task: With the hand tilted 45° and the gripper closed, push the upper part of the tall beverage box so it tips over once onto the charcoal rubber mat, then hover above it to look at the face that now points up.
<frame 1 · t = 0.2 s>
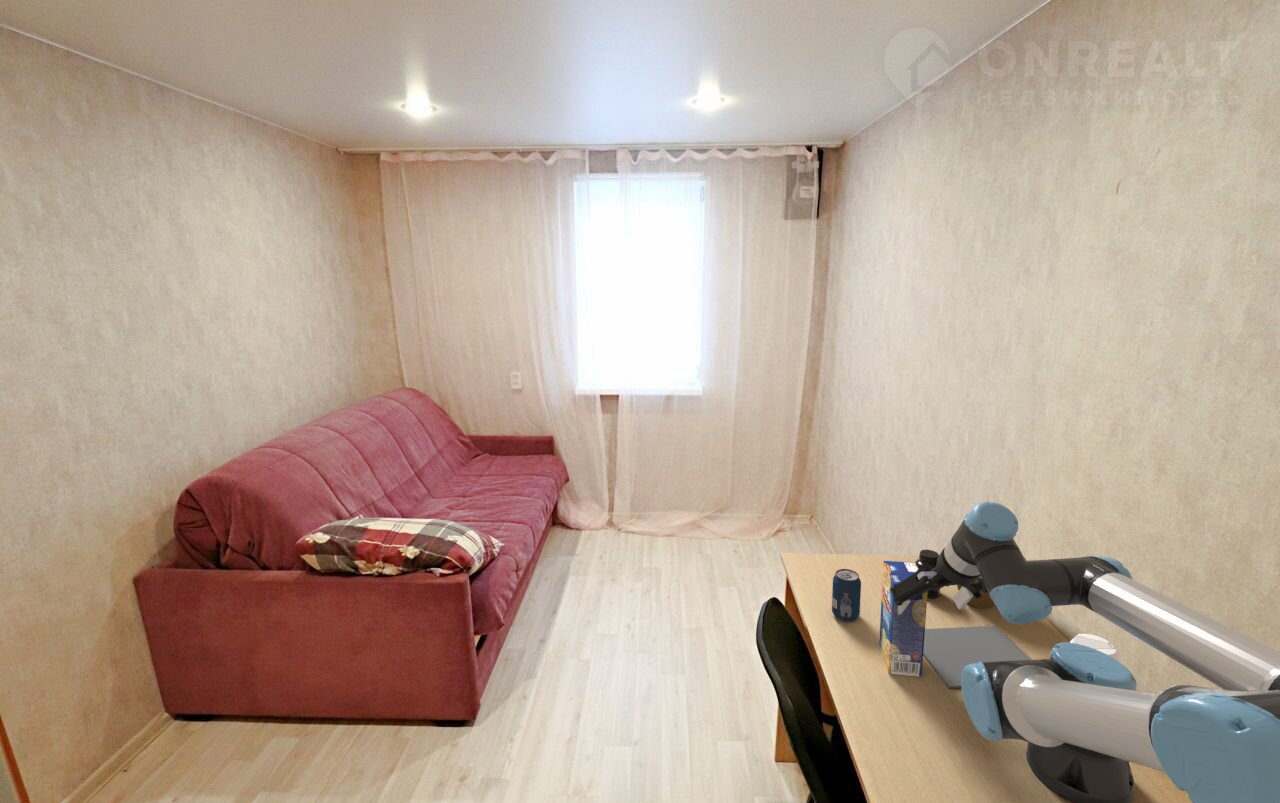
hand: (927, 606, 126), 16 cm above the table, tool tilted 35°, fingers open, 13 cm apart
soda can: (845, 616, 151), on the table
plant pot: (976, 601, 155), on the table
paper cup: (1085, 704, 118), on the table
beverage box: (899, 660, 133), on the table, touching gripper
supplement bottle: (926, 593, 160), on the table
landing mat: (974, 656, 133), on the table
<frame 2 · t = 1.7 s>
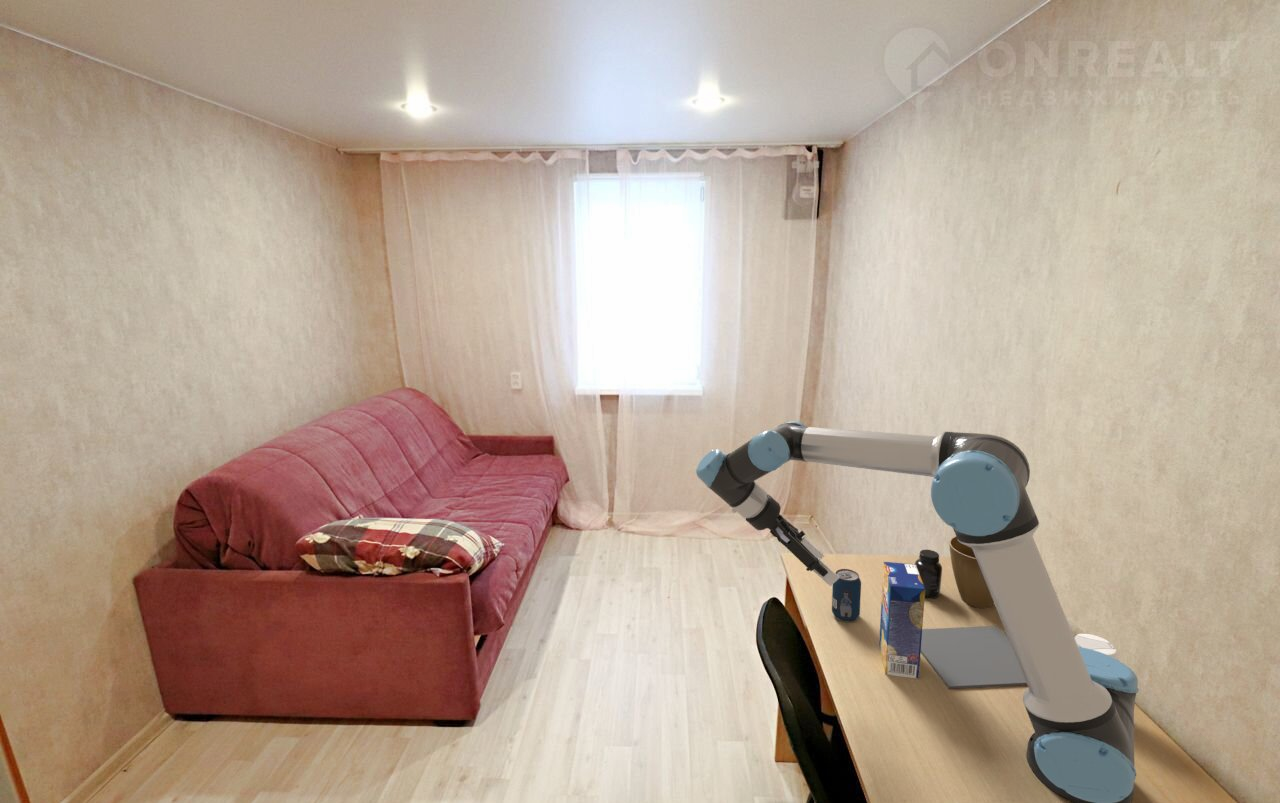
hand: (826, 569, 128), 24 cm above the table, tool tilted 45°, fingers open, 9 cm apart
beverage box: (897, 661, 133), on the table
everything else where it was.
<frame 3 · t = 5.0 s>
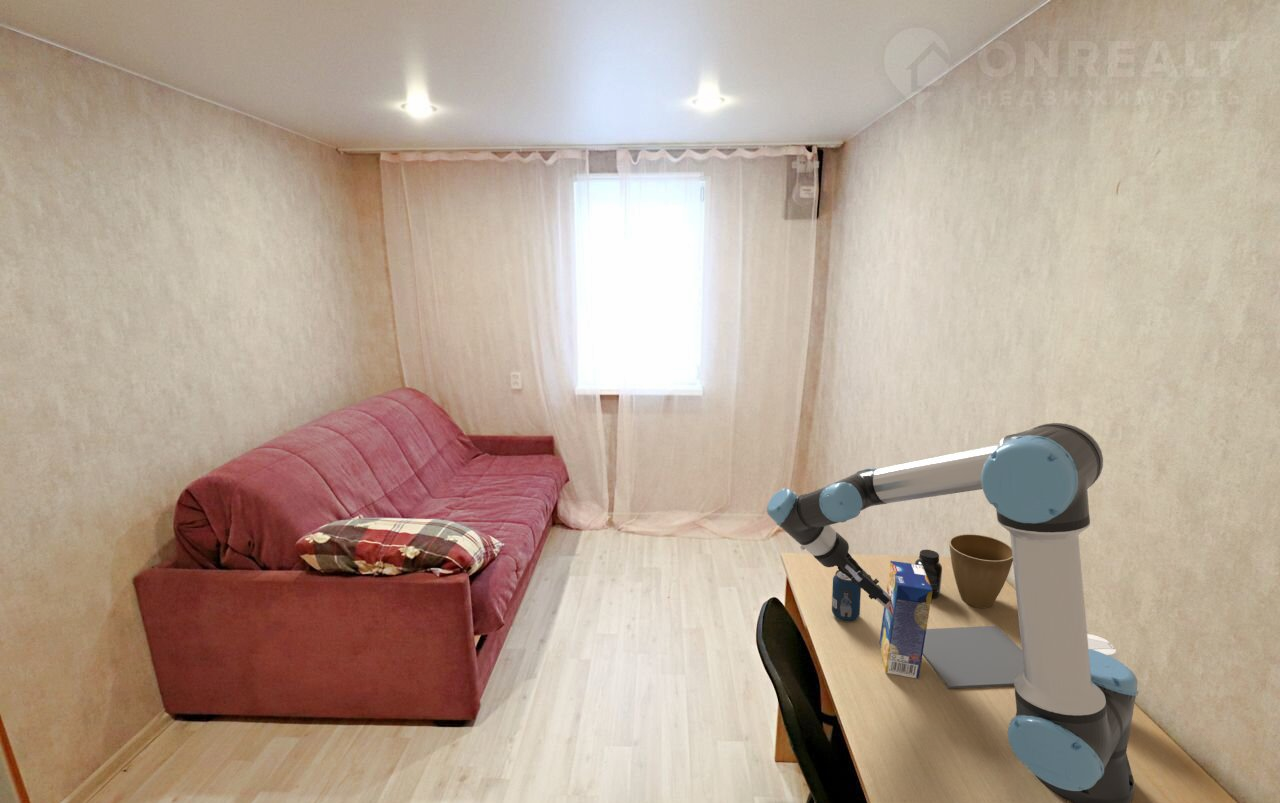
hand: (894, 607, 131), 13 cm above the table, tool tilted 45°, fingers closed
beverage box: (897, 660, 133), on the table, touching gripper
everything else where it was.
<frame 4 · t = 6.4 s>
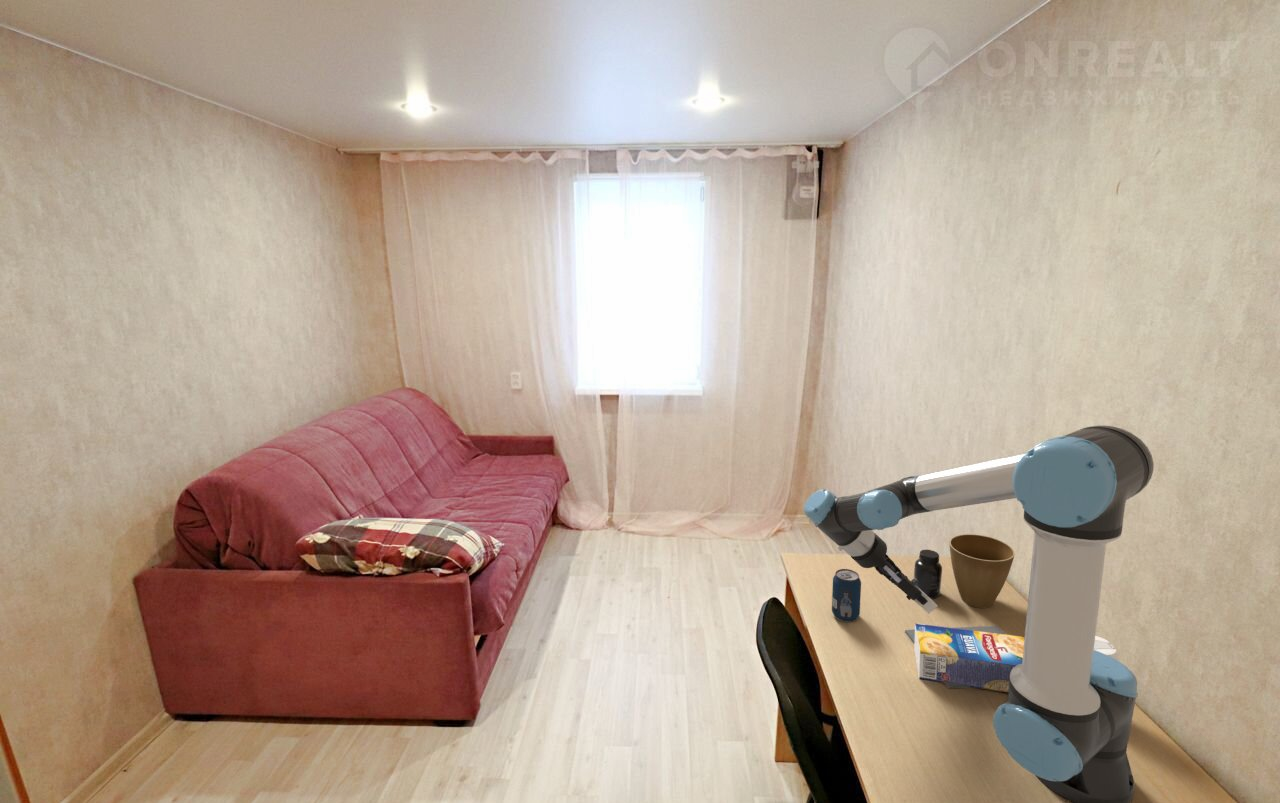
hand: (931, 608, 130), 13 cm above the table, tool tilted 45°, fingers closed
beverage box: (916, 650, 131), point 3 cm above the table, touching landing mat
everything else where it was.
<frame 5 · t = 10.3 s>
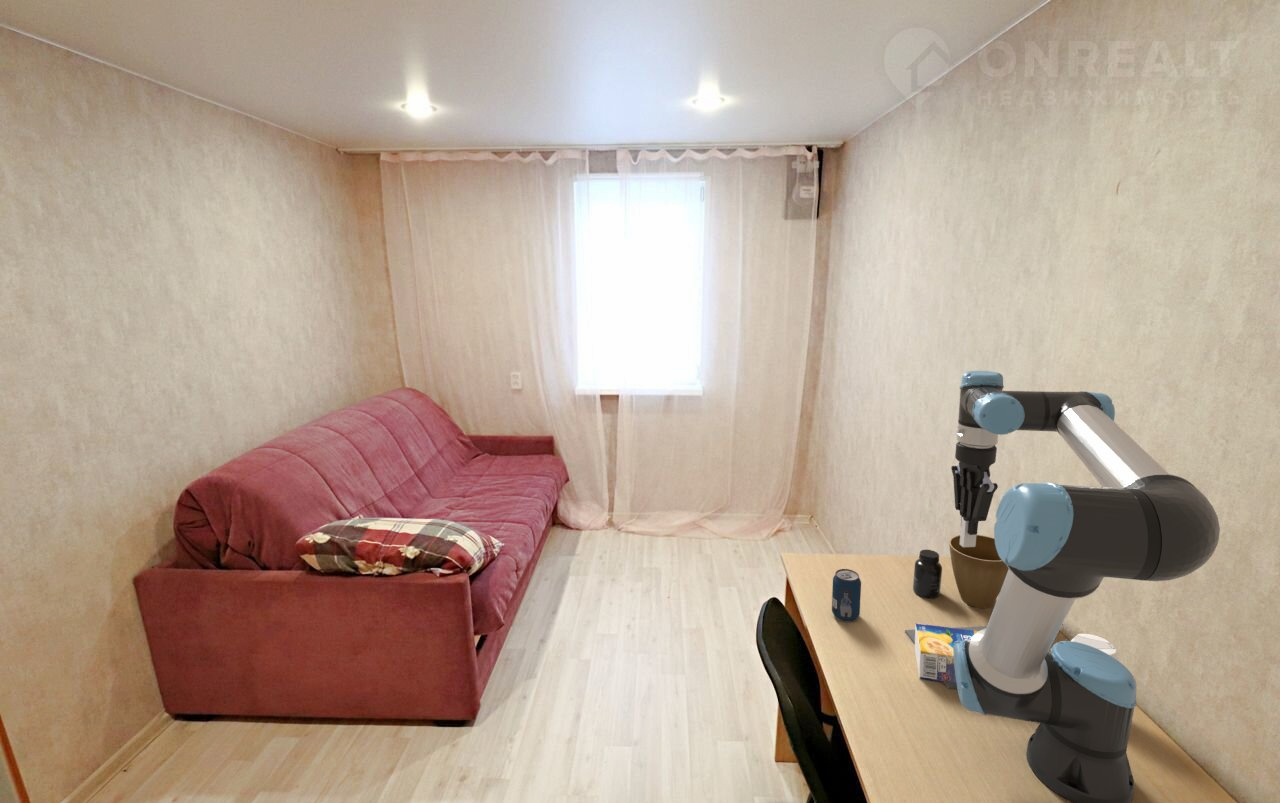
hand: (967, 545, 127), 28 cm above the table, tool pointing down, fingers closed
nothing on the table moved.
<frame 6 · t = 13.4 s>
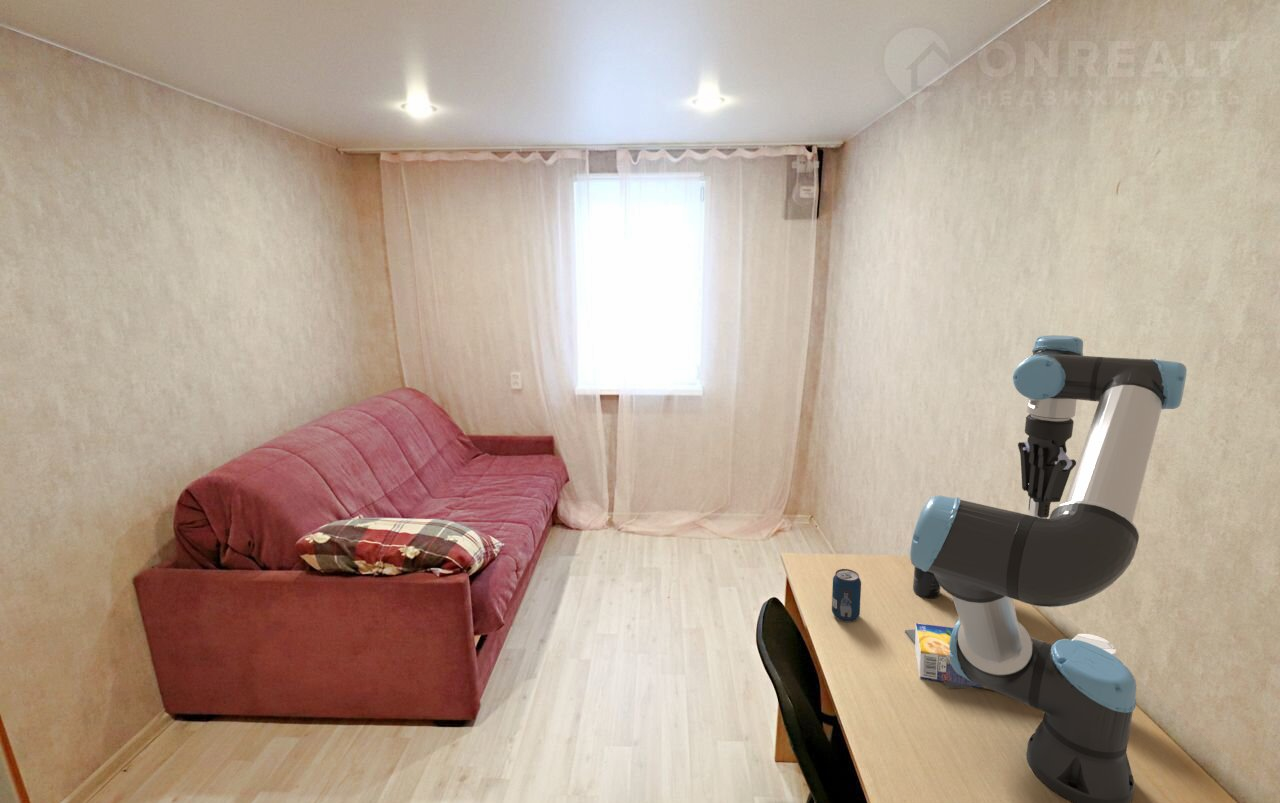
hand: (1036, 529, 115), 36 cm above the table, tool pointing down, fingers closed
nothing on the table moved.
at the end: beverage box tilted 88°; beverage box inside the target area (4.0 cm from its centre), point 3.3 cm above the table; beverage box touching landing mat, table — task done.
